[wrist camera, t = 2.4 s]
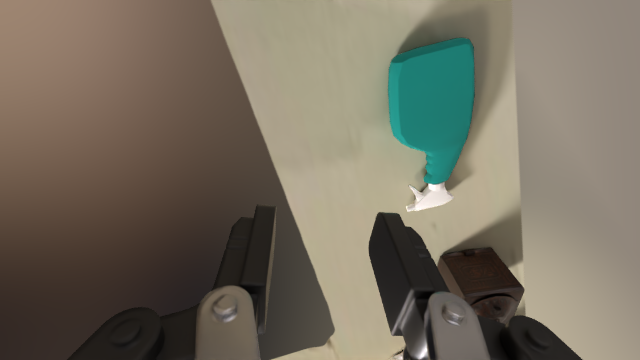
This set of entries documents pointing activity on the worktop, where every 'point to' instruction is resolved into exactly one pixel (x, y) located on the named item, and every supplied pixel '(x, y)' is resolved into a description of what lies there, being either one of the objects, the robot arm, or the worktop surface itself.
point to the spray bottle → (433, 109)
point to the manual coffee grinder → (482, 282)
